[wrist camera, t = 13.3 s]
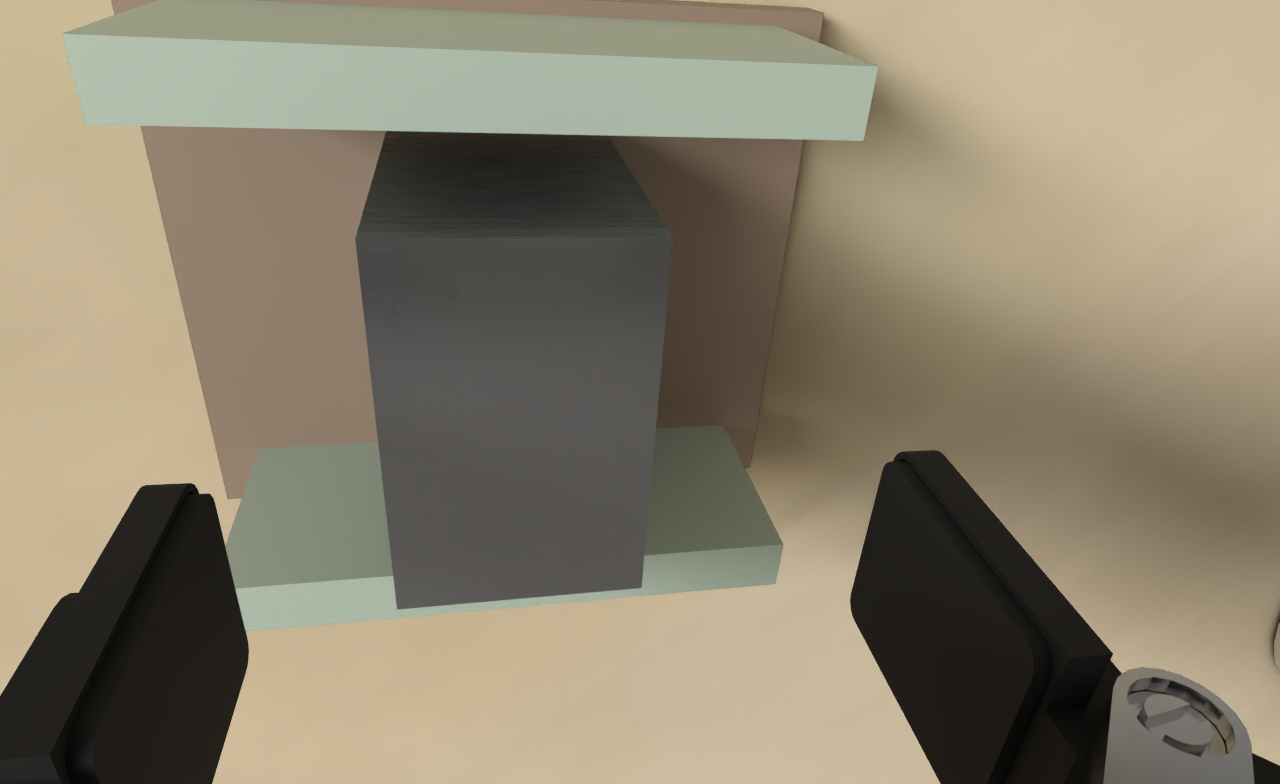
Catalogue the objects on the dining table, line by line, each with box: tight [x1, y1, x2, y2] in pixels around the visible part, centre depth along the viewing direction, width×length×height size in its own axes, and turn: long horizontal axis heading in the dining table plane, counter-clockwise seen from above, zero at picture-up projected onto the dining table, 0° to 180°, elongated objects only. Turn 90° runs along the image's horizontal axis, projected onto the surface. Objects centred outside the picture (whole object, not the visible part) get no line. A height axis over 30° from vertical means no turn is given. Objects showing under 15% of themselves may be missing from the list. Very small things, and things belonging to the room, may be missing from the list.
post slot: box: [62, 0, 878, 632], centre depth 18 cm, size 14×12×6 cm
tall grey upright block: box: [355, 131, 673, 610], centre depth 17 cm, size 4×7×7 cm, turn 176°
